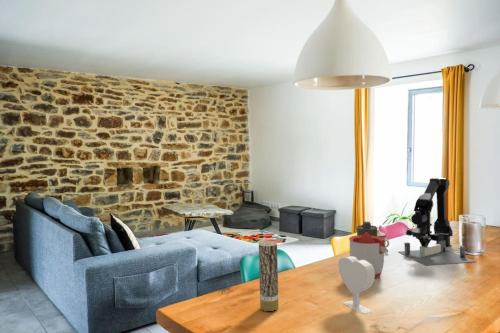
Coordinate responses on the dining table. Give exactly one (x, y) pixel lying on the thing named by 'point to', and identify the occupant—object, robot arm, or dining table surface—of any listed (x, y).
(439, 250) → the cream rectangular bar
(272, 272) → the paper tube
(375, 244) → the citrus juicer
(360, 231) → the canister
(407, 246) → the posts
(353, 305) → the heart sculpture
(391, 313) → the dining table surface
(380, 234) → the teacup with lid
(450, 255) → the mat
